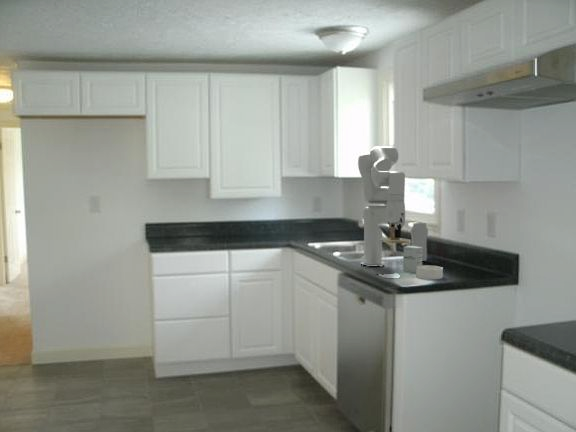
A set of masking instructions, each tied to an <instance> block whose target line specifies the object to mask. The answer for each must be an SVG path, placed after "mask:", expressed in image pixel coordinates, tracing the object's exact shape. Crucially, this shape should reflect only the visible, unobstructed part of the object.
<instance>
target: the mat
mask: <svg viewBox="0 0 576 432" xmlns="http://www.w3.org/2000/svg"><path fill="white" fill-rule="evenodd" d="M399 273H400V274H399V275H400V277H399V278H400V279H409V278H411V279H413V278H414V276H411V275H408V274H404V273H401V272H399Z"/></svg>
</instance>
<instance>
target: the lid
mask: <svg viewBox="0 0 576 432" xmlns="http://www.w3.org/2000/svg"><path fill="white" fill-rule="evenodd" d="M395 229H396V226H395V227H391V230H390V229H389V237H382V239H380V241H381V242H382V243H390V244H408V243H410V242H411V240H410V239H408V238H401V237H400V238H395Z"/></svg>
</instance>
